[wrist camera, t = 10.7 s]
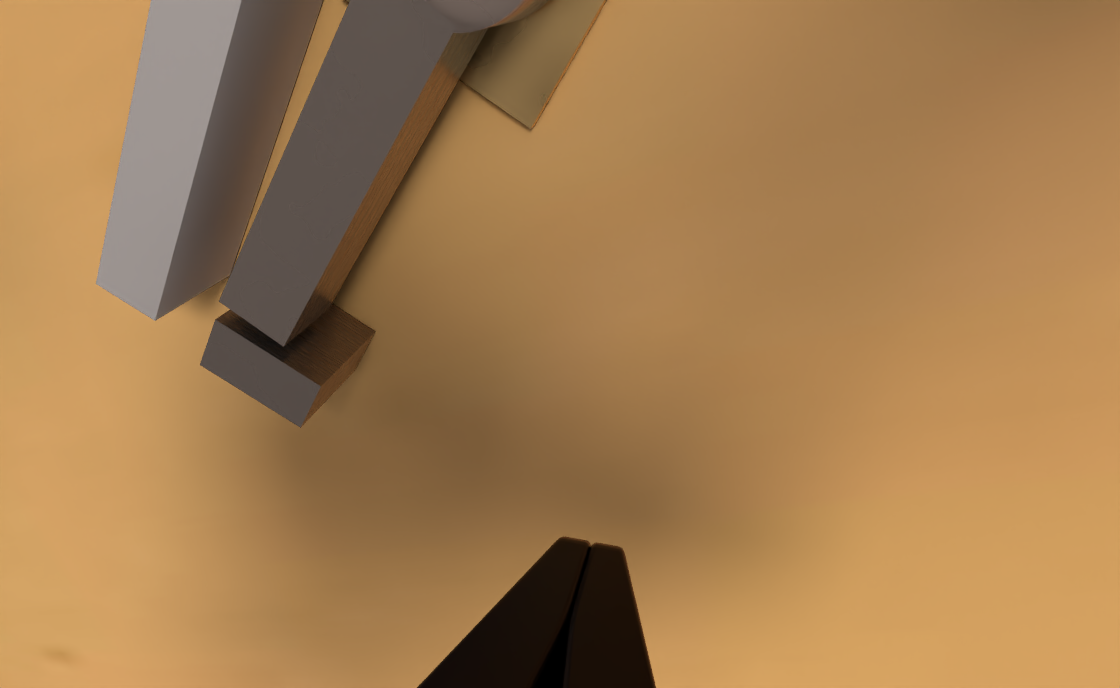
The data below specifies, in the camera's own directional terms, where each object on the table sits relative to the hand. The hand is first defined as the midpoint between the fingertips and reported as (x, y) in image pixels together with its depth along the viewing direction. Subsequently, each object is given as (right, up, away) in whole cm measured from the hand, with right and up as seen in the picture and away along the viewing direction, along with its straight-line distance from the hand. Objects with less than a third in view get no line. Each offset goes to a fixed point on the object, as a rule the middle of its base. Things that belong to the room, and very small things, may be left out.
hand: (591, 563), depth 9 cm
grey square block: (-9, +4, +14) cm, 17 cm away
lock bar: (-5, +9, +9) cm, 14 cm away
